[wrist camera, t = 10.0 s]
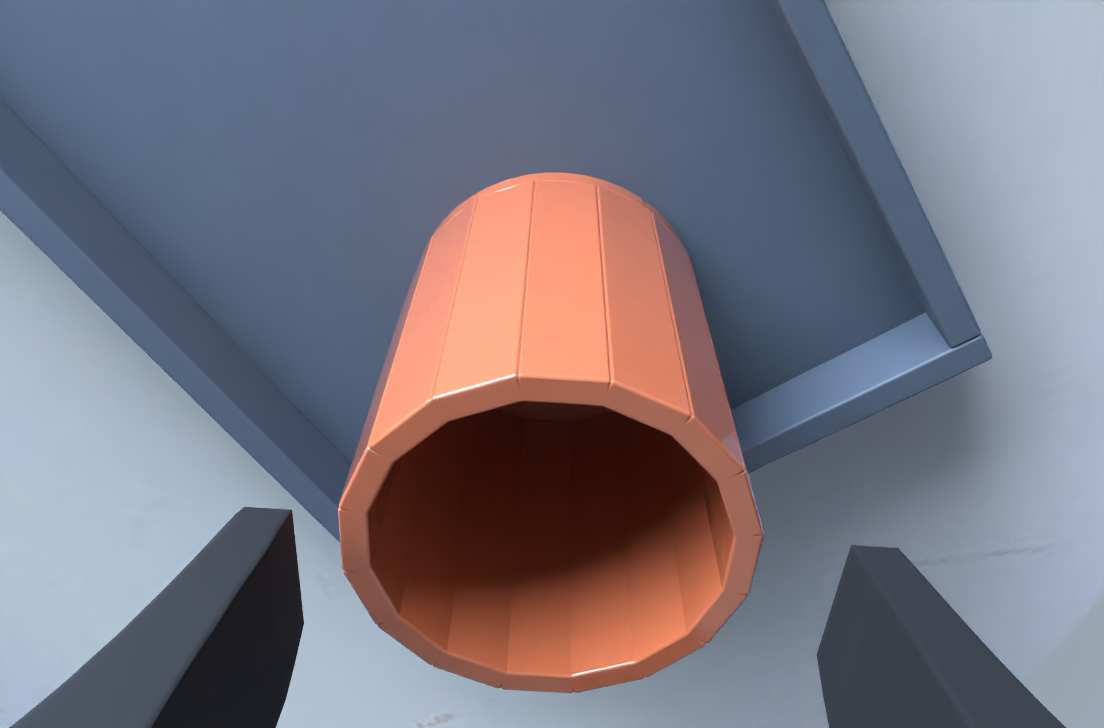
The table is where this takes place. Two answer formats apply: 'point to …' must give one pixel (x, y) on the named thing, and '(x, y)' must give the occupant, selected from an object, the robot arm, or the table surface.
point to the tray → (463, 192)
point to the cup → (551, 449)
